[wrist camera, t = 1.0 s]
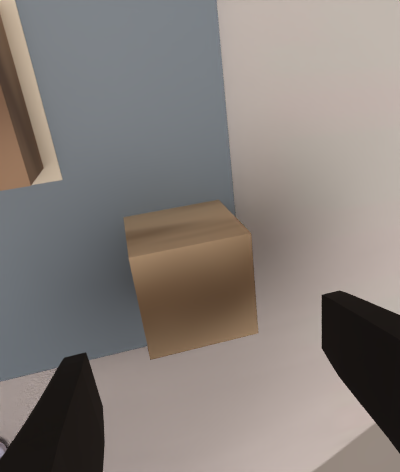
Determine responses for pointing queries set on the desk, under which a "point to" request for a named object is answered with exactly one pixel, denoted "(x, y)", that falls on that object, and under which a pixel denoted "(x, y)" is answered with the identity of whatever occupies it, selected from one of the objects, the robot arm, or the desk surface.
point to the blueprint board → (103, 163)
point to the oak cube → (192, 276)
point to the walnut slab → (15, 127)
